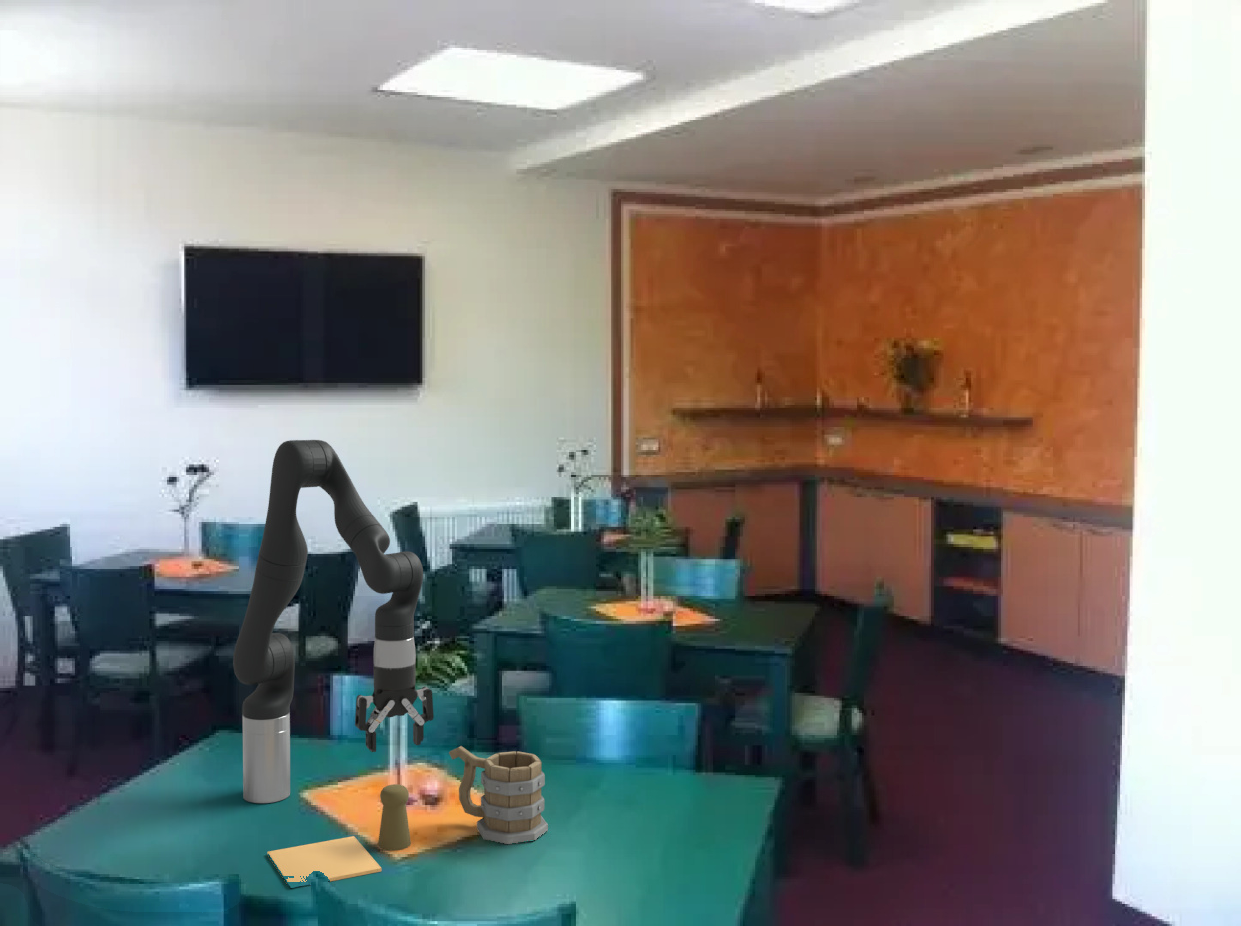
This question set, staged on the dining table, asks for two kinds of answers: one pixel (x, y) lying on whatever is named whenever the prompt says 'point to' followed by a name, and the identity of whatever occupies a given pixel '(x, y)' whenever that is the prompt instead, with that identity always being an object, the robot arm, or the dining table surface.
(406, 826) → the cork
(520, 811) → the tankard
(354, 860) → the placemat
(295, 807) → the dining table surface
